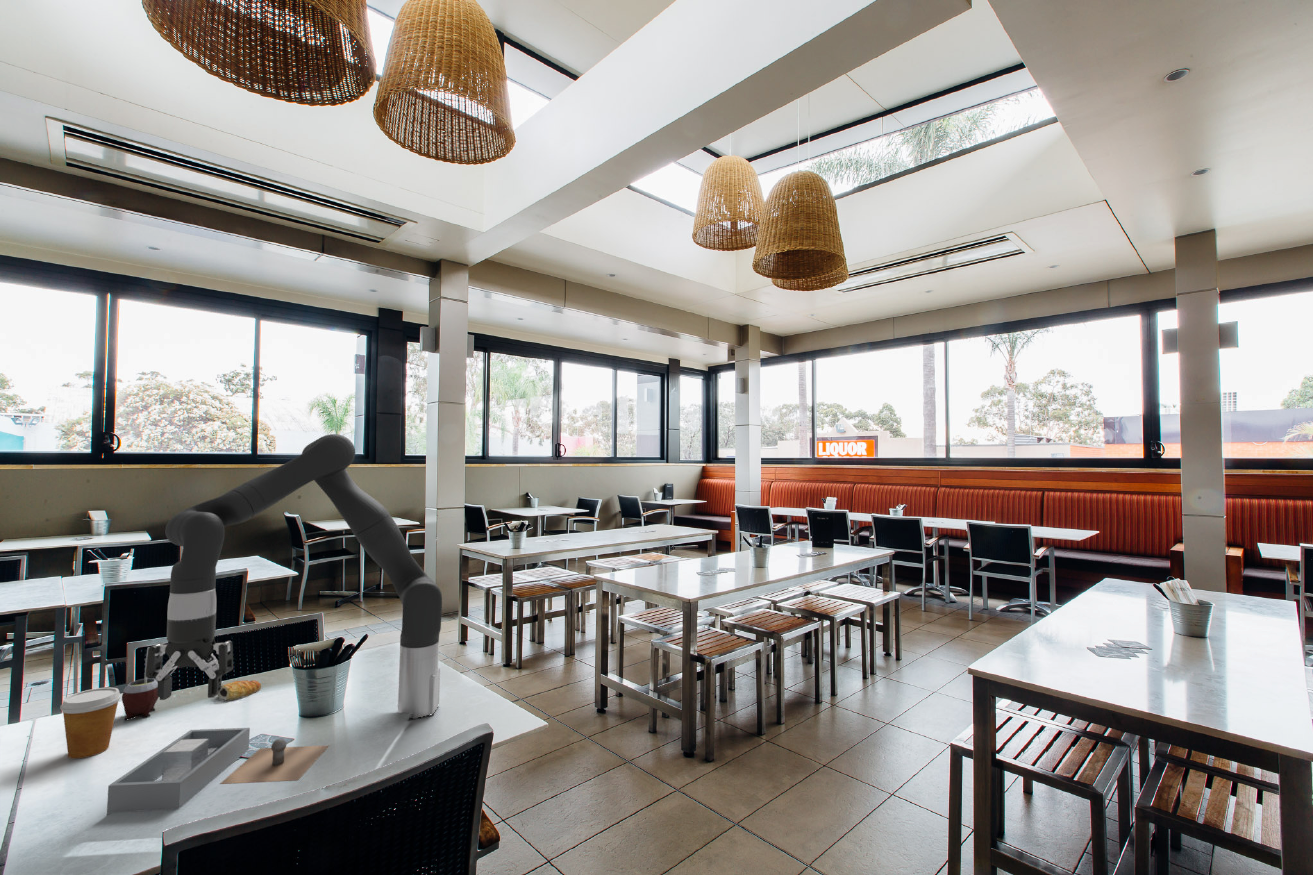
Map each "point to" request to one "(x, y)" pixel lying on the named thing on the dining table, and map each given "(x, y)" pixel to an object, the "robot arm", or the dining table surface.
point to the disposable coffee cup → (89, 721)
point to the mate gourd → (140, 696)
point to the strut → (184, 758)
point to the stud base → (276, 772)
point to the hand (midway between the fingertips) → (189, 697)
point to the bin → (148, 794)
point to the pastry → (238, 689)
